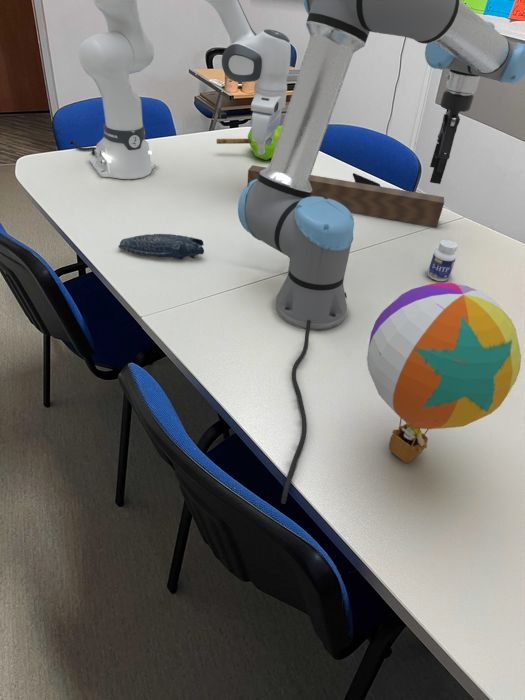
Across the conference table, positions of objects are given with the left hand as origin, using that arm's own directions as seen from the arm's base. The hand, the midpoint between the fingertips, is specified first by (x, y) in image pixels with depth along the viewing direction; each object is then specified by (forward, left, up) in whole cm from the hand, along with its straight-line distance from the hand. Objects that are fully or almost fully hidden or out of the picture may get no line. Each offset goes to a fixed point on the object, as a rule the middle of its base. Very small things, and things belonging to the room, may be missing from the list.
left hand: (264, 149), depth 153 cm
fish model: (+17, -46, -14) cm, 51 cm away
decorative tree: (-28, +21, -14) cm, 38 cm away
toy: (+94, -47, -14) cm, 106 cm away
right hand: (+40, +29, +1) cm, 49 cm away
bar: (+20, +14, -14) cm, 28 cm away
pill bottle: (+62, +6, -14) cm, 64 cm away
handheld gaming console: (+17, +32, -14) cm, 39 cm away
